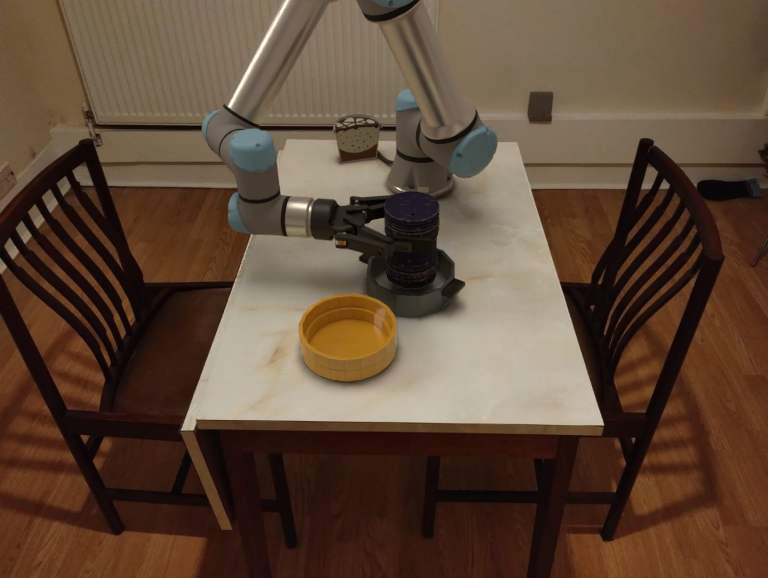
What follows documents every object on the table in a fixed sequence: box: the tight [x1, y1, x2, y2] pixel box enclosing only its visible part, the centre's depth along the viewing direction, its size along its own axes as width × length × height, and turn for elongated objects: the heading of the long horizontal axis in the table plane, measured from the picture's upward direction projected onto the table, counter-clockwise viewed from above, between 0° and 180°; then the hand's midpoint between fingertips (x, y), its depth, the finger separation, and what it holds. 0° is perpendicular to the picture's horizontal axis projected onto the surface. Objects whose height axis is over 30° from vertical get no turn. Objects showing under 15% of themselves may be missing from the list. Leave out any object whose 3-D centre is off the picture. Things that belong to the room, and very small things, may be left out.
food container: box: [332, 113, 383, 164], centre depth 167 cm, size 12×6×10 cm, turn 105°
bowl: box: [298, 293, 398, 382], centre depth 114 cm, size 16×16×6 cm
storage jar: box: [383, 191, 441, 290], centre depth 121 cm, size 10×10×15 cm
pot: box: [358, 247, 466, 318], centre depth 126 cm, size 21×16×5 cm
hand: (435, 228), depth 118 cm, fingers closed on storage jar, 10 cm apart
